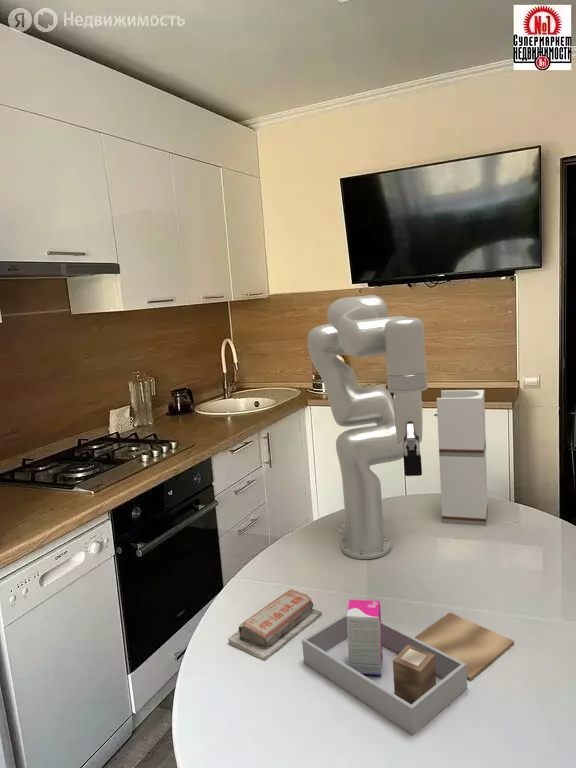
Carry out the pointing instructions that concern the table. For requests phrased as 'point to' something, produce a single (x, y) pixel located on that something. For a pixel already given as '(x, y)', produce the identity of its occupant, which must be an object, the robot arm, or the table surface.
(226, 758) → the table surface
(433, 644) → the cork mat
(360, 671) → the supplement box
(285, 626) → the packaged product
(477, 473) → the tall striped box
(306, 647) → the grey bin
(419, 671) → the walnut block
